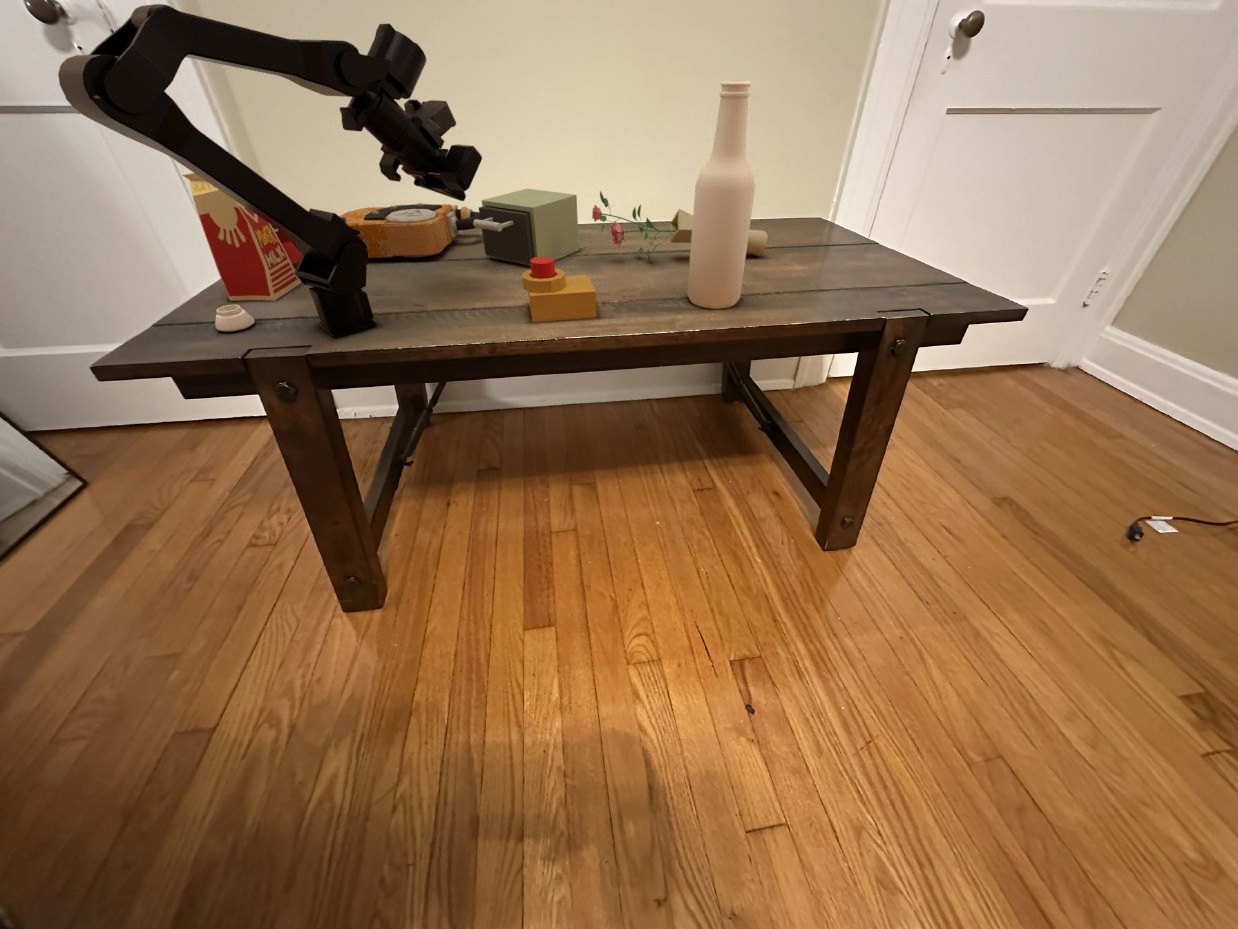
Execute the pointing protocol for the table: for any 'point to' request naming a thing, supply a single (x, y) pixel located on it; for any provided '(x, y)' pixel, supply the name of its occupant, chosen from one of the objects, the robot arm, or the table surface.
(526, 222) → the dark grey drawer
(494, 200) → the drawer cabinet
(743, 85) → the alcohol
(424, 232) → the device
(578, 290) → the control block
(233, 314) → the lidless jar
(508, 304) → the table surface
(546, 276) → the button
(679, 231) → the flower vase
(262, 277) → the milk carton
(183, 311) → the table surface
